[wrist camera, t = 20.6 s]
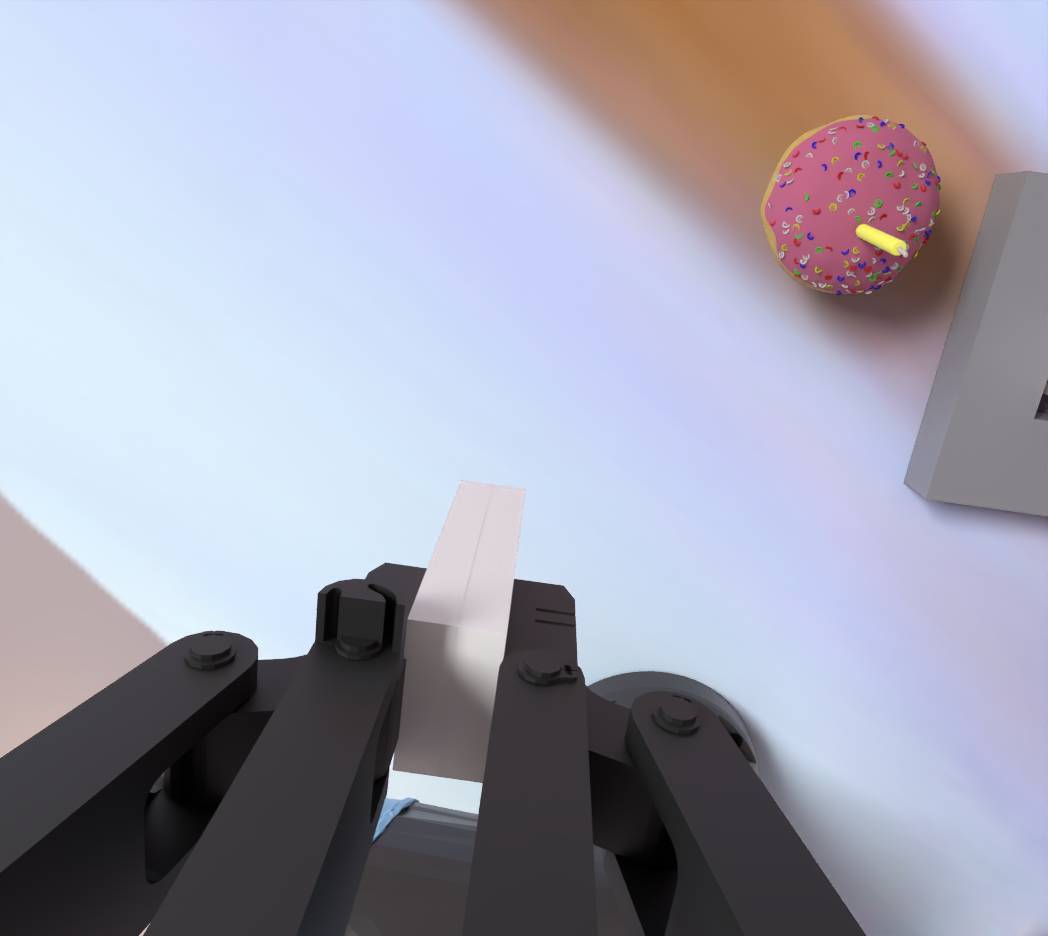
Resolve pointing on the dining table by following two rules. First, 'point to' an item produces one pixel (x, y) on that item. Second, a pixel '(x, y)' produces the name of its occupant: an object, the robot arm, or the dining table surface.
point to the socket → (994, 366)
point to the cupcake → (851, 204)
